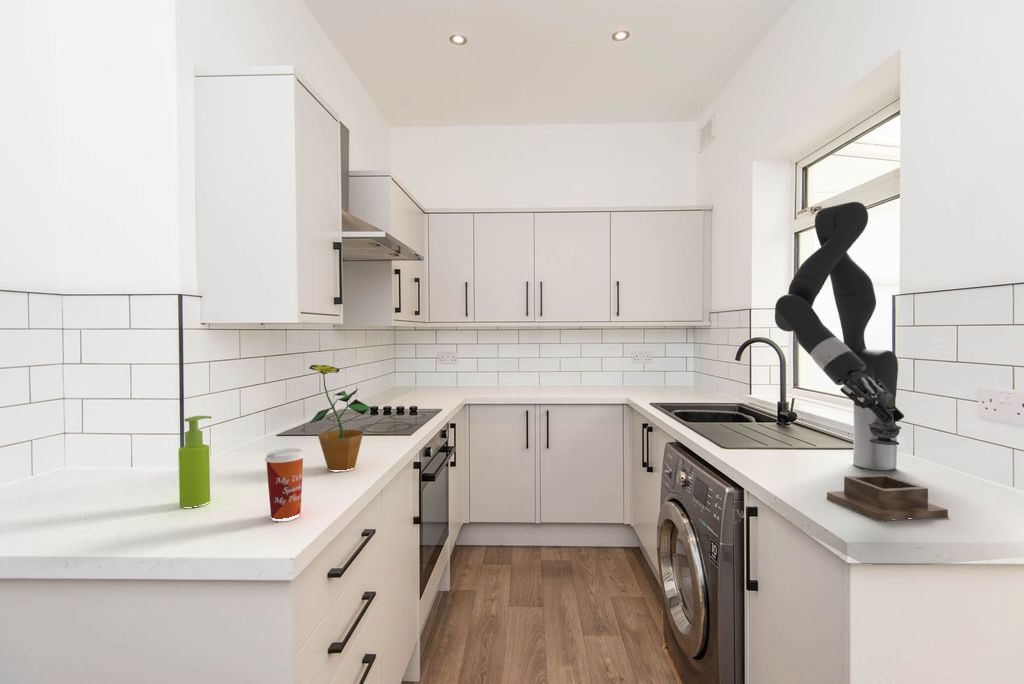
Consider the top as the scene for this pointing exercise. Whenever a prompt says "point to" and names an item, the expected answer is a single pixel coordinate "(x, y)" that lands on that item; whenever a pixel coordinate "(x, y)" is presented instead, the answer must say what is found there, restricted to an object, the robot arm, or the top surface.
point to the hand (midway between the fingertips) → (894, 420)
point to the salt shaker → (885, 429)
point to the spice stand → (886, 498)
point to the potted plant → (339, 443)
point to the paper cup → (285, 481)
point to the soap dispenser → (194, 467)
